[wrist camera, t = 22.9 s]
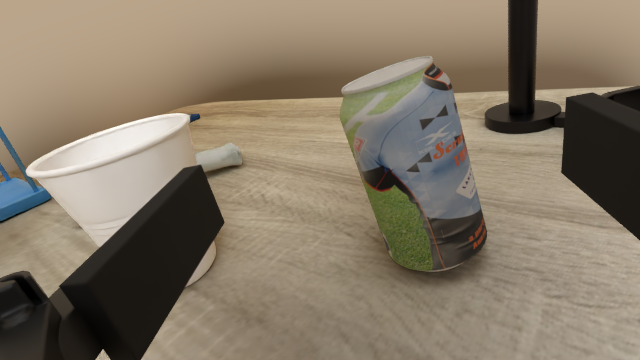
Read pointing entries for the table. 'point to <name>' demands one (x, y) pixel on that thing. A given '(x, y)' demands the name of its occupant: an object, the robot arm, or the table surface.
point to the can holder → (533, 80)
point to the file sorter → (18, 189)
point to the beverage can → (415, 164)
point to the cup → (118, 174)
